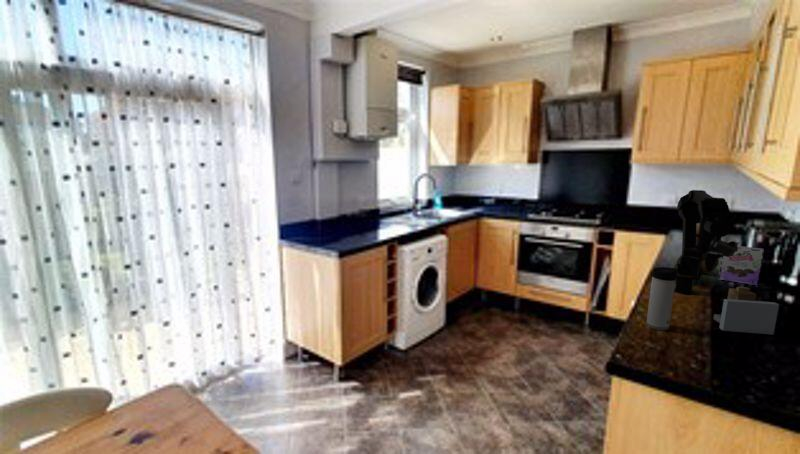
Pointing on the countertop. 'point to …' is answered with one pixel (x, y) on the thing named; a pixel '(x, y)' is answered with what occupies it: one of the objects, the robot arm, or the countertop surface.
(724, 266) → the candy box
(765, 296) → the countertop surface
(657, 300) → the travel mug
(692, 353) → the countertop surface
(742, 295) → the brown box with handle
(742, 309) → the grey stool
